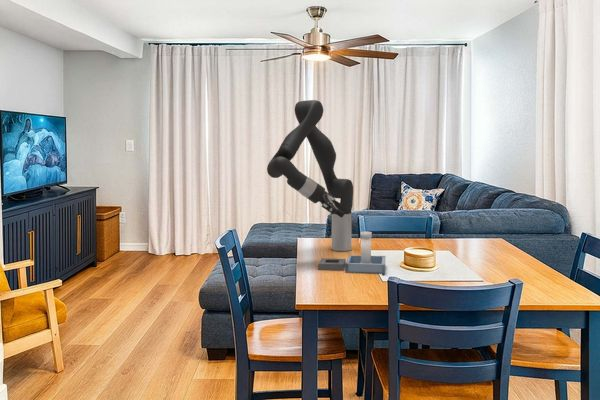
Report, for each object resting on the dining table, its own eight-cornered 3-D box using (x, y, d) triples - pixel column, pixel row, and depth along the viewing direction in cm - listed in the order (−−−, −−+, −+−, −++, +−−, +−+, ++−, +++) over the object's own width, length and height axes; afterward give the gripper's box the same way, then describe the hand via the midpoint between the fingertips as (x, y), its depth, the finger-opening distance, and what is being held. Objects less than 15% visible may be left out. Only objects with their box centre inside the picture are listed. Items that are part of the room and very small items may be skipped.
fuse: (360, 265, 231) (360, 231, 229) (371, 265, 230) (371, 231, 228) (359, 268, 226) (360, 233, 224) (371, 268, 225) (371, 233, 224)
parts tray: (348, 264, 237) (348, 254, 237) (385, 265, 235) (385, 255, 234) (345, 273, 222) (345, 263, 221) (384, 275, 219) (384, 264, 219)
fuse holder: (321, 265, 236) (321, 258, 236) (345, 266, 234) (345, 258, 234) (318, 271, 226) (318, 263, 226) (343, 271, 225) (343, 264, 224)
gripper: (317, 189, 225) (349, 211, 229) (315, 176, 238) (345, 198, 242) (306, 203, 227) (338, 225, 231) (304, 190, 240) (334, 211, 244)
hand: (342, 211), depth 237 cm, fingers open, 8 cm apart
